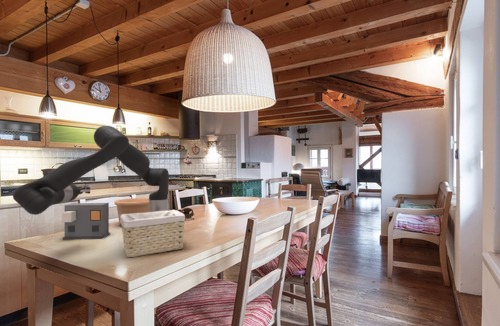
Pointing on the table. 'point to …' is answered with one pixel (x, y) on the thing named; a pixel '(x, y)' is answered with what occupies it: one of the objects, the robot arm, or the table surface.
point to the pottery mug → (187, 212)
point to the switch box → (87, 221)
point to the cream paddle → (69, 216)
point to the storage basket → (152, 232)
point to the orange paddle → (96, 215)
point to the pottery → (132, 206)
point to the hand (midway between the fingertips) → (85, 188)
